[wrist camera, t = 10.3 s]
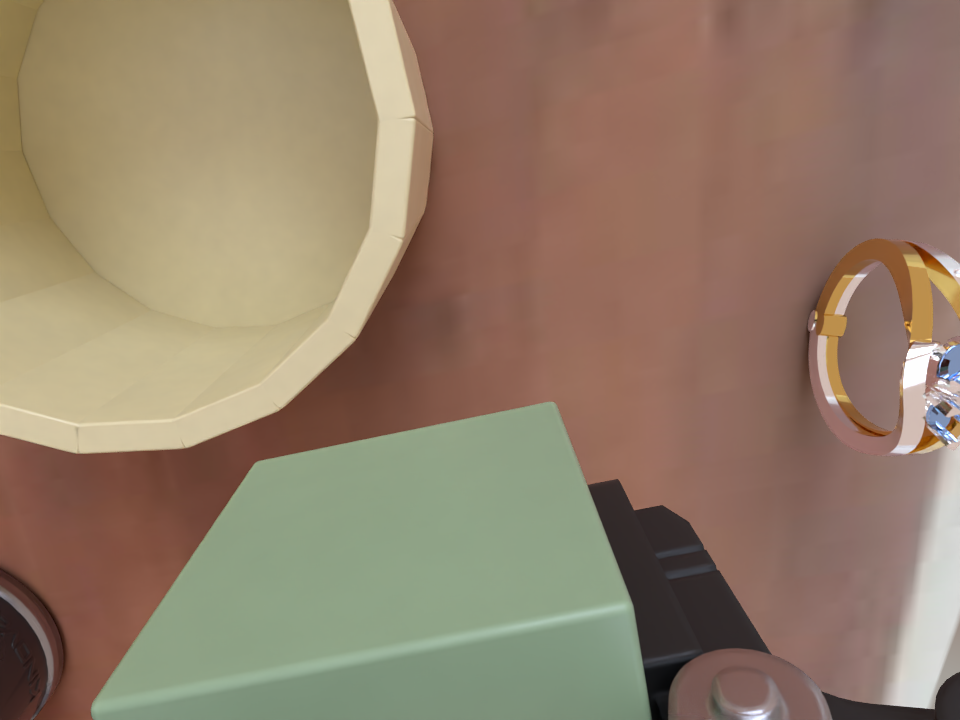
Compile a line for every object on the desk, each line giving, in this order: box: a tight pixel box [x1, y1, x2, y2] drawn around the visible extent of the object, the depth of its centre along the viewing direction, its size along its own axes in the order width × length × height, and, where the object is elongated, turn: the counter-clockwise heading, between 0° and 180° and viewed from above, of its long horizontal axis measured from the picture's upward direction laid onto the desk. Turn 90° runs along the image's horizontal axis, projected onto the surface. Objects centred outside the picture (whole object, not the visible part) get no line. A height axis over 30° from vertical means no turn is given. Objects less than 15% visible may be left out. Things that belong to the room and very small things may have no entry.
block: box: [91, 402, 652, 720], centre depth 8 cm, size 4×4×4 cm
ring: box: [808, 239, 960, 456], centre depth 21 cm, size 7×3×8 cm, turn 175°
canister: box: [0, 0, 434, 454], centre depth 18 cm, size 14×15×10 cm
